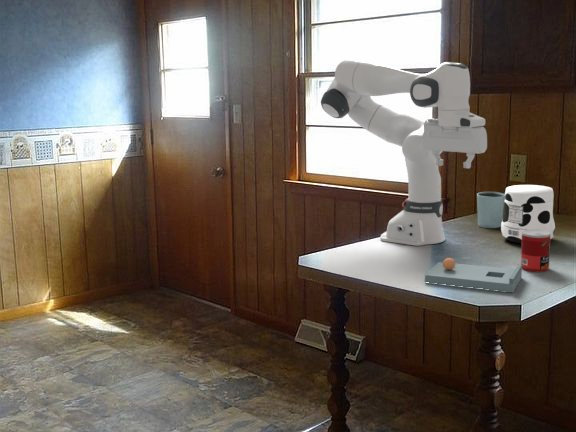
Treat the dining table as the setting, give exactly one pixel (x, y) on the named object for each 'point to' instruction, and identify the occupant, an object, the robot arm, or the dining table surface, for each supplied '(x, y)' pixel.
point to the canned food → (535, 250)
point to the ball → (448, 263)
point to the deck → (476, 276)
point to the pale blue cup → (490, 209)
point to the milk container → (527, 211)
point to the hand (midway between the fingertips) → (453, 166)
